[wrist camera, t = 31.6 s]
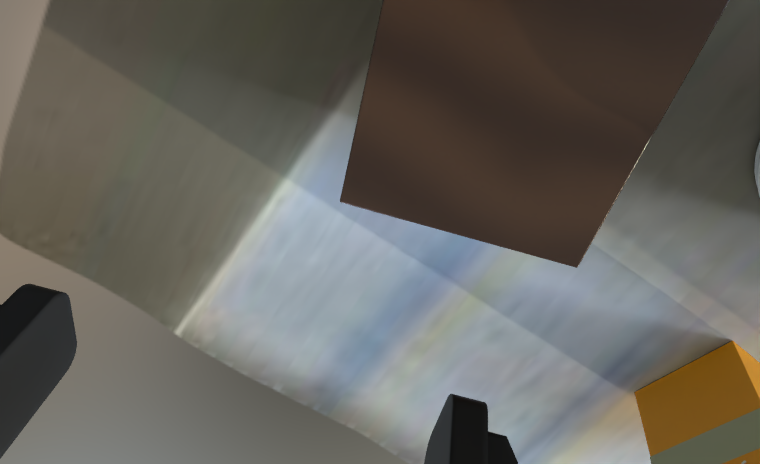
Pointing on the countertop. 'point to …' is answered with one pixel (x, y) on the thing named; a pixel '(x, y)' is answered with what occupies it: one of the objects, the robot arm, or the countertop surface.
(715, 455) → the orange juice
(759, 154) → the jar
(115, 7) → the countertop surface
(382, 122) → the cabinet
